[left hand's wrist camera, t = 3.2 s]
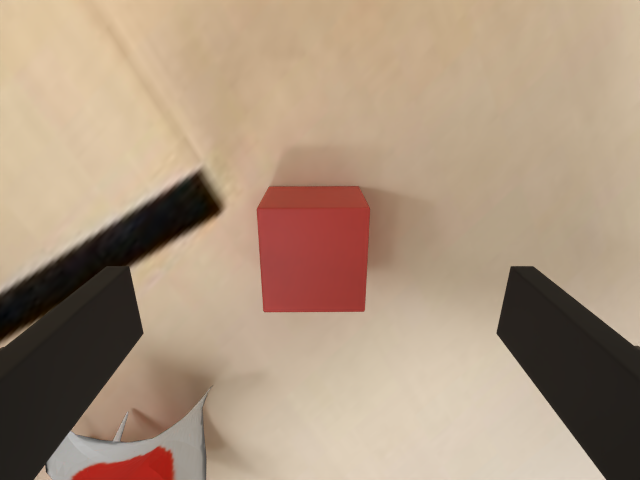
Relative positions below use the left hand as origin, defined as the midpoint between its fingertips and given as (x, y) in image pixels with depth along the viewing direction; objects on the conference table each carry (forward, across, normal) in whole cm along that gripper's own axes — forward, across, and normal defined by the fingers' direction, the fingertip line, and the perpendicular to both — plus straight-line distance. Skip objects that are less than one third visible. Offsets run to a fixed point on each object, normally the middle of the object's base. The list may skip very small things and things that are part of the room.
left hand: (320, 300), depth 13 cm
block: (+8, 0, 0) cm, 8 cm away
